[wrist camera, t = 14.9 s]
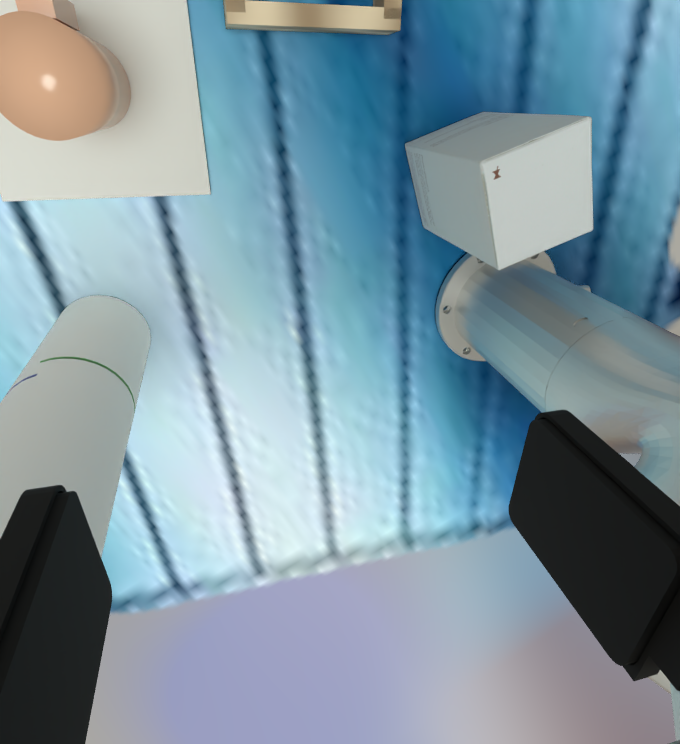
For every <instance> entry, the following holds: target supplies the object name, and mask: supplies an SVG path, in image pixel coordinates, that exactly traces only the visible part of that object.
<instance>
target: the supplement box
mask: <svg viewBox="0 0 680 744" xmlns="http://www.w3.org/2000/svg"><path fill="white" fill-rule="evenodd" d="M405 149H406V153H407V158H408V162H409V167H410V171H411V176H412V180H413V184H414V189H415V194H416V198H417V202H418V207H419V211H420V216H421V220H422V224H423V227H424V228H425V229H427V230H429V231H430V232H432V233H434V234H436V235H437V236H439V237H441V238H443V239H445V240H446V241H448V242H450V243H452V244H453V245H455V246H457V247H459V248H461V249H462V250H464V251H466V252H468V253H469V254H471V255H473V256H475V257H476V258H478V259H480V260H482V261H484V262H485V263H487V264H489V265H491V266H492V267H494V268H496V269H497V270H501V269H503V268H506V267H508V266H510V265H513V264H515V263H517V262H519V261H522V260H524V259H527V258H529V257H531V256H534V255H536V254H538V253H541V252H543V251H545V250H548V249H550V248H552V247H555V246H557V245H559V244H562V243H564V242H566V241H569V240H571V239H574V238H576V237H578V236H581V235H583V234H585V233H588V232H590V231H592V230H593V200H592V119H591V117H588V116H574V115H549V114H519V113H496V112H481V113H479V114H476V115H474V116H471V117H468V118H466V119H463V120H461V121H458V122H456V123H454V124H451V125H449V126H446V127H444V128H442V129H439V130H437V131H434V132H432V133H430V134H427V135H425V136H422V137H420V138H418V139H415V140H413V141H410V142H408V143H406V144H405Z"/></svg>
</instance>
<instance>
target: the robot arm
mask: <svg viewBox="0 0 680 744" xmlns="http://www.w3.org/2000/svg"><path fill="white" fill-rule="evenodd" d="M435 314H436V324H437V328H438V332H439V334H440V336H441V338H442V340H443V341H444V342H445V343H446V344H447V346H448V347H449V348H450V349H451V350H452V351H454V352H455V353H456V354H457V355H459V356H461V357H463V358H466V359H469V360H473V361H487V362H488V363H489V364H490V365H491V366H493V367H494V368H495V369H496V370H497V371H498V372H499V373H500V374H501V375H502V376H503V377H504V378H505V379H506V380H508V381H509V382H510V383H511V384H512V385H513V386H514V387H515V388H516V389H517V390H518V391H519V392H520V393H521V394H522V395H524V396H525V397H526V398H527V399H528V400H529V401H530V402H531V403H532V404H533V405H534V406H535V407H536V408H537V409H539V410H540V411H541V412H542V413H539V414H538V415H537V416H536V418H535V420H534V421H532V422H531V423H530V426H529V429H528V433H527V437H526V441H525V445H524V449H523V453H522V457H521V460H520V464H519V468H518V472H517V476H516V480H515V484H514V488H513V492H512V496H511V500H510V504H509V515H510V518H511V521H512V522H513V524H514V525H515V527H516V528H517V530H518V531H519V532H520V534H521V535H522V536H523V538H524V539H525V541H526V542H527V543H528V545H529V546H530V548H531V549H532V550H533V552H534V553H535V554H536V556H537V557H538V558H539V560H540V561H541V563H542V564H543V565H544V567H545V568H546V570H547V571H548V572H549V574H550V575H551V577H552V578H553V579H554V581H555V582H556V583H557V585H558V586H559V588H560V589H561V590H562V592H563V593H564V595H565V596H566V597H567V599H568V600H569V601H570V603H571V604H572V606H573V607H574V608H575V610H576V611H577V612H578V614H579V615H580V617H581V618H582V619H583V621H584V622H585V624H586V625H587V626H588V628H589V629H590V631H591V632H592V633H593V635H594V636H595V637H596V639H597V640H598V642H599V643H600V644H601V646H602V647H603V649H604V650H605V651H606V653H607V654H608V655H609V657H610V658H611V659H612V660H613V661H614V662H615V663H616V664H618V665H620V666H623V667H624V668H625V670H626V671H627V672H628V674H629V675H630V677H631V678H632V679H633V681H636V680H640V679H643V678H646V677H648V678H649V679H651V680H652V681H654V682H655V683H656V684H658V685H659V686H660V687H662V688H663V689H664V690H666V691H667V692H668V693H670V694H671V697H672V706H673V716H674V725H675V735H676V741H675V742H672V743H670V744H680V336H677V335H675V334H673V333H671V332H669V331H667V330H665V329H663V328H661V327H659V326H657V325H655V324H653V323H651V322H649V321H647V320H645V319H643V318H641V317H639V316H637V315H635V314H633V313H631V312H629V311H627V310H625V309H623V308H621V307H619V306H617V305H615V304H613V303H611V302H609V301H607V300H605V299H603V298H601V297H599V296H597V295H595V294H593V293H591V290H590V287H589V286H588V285H580V286H577V285H575V284H573V283H571V282H569V281H567V280H565V279H563V278H561V277H559V276H557V275H556V271H555V268H554V265H553V263H552V261H551V259H550V257H549V256H548V255H547V254H546V253H545V252H544V251H543V252H541V253H538V254H536V255H534V256H531V257H529V258H527V259H524V260H522V261H519V262H517V263H515V264H513V265H510V266H508V267H506V268H503V269H501V270H497V269H496V268H494V267H492V266H491V265H489V264H487V263H485V262H484V261H482V260H480V259H478V258H476V257H475V256H473V255H471V254H469V253H467V254H466V255H465V256H463V257H462V258H461V259H460V260H459V261H458V262H457V263H456V264H455V266H454V267H453V268H452V270H451V271H450V272H449V273H448V275H447V277H446V279H445V280H444V282H443V284H442V286H441V289H440V292H439V295H438V297H437V303H436V309H435ZM618 453H623V454H641V457H640V459H639V461H638V462H637V464H636V465H635V467H633V466H632V465H631V464H630V463H629V462H628V461H627V460H625V459H624V458H623V457H622V456H621V455H619V454H618ZM111 603H112V589H111V584H110V581H109V578H108V576H107V573H106V570H105V567H104V565H103V562H102V559H101V557H100V554H99V551H98V549H97V546H96V543H95V540H94V538H93V535H92V532H91V530H90V527H89V524H88V522H87V519H86V516H85V513H84V511H83V508H82V505H81V503H80V500H79V497H78V495H77V493H76V492H75V491H69V492H67V491H66V489H65V487H63V486H62V485H55V486H48V487H42V488H35V489H28V490H25V491H24V492H23V493H22V494H21V496H20V498H19V500H18V502H17V504H16V507H15V509H14V511H13V513H12V515H11V517H10V519H9V521H8V524H7V526H6V528H5V530H4V532H3V534H2V536H1V538H0V744H85V741H86V736H87V731H88V725H89V720H90V715H91V709H92V704H93V699H94V693H95V688H96V683H97V677H98V672H99V667H100V661H101V656H102V651H103V645H104V641H105V635H106V629H107V625H108V619H109V614H110V609H111Z"/></svg>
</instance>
